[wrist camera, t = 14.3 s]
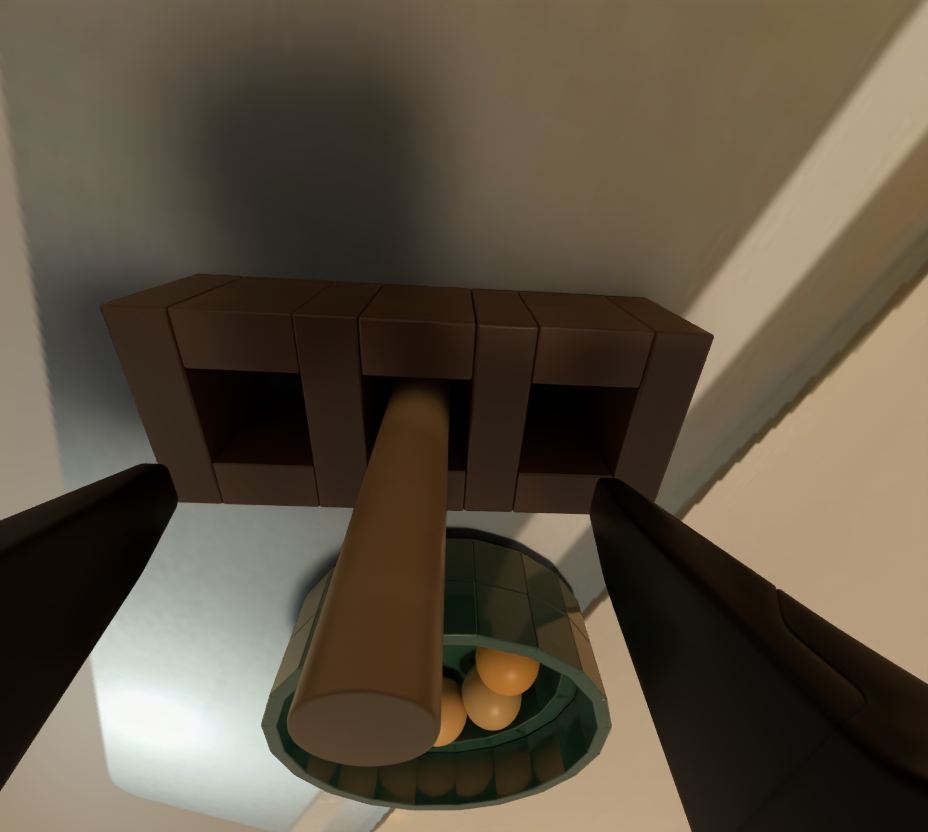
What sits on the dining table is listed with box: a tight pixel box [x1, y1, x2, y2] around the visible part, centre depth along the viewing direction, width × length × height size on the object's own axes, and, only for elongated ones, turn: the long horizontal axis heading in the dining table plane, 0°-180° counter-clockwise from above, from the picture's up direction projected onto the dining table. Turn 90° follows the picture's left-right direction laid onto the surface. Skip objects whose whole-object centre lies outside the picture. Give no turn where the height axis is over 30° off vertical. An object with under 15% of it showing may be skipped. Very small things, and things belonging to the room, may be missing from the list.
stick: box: [287, 377, 450, 766], centre depth 10 cm, size 2×2×11 cm
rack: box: [100, 274, 714, 514], centre depth 13 cm, size 14×6×4 cm, turn 87°
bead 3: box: [462, 664, 522, 730], centre depth 21 cm, size 3×3×3 cm
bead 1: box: [433, 676, 467, 747], centre depth 21 cm, size 3×3×3 cm
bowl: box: [261, 538, 612, 810], centre depth 19 cm, size 14×14×5 cm
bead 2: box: [475, 646, 540, 696], centre depth 19 cm, size 3×3×3 cm
